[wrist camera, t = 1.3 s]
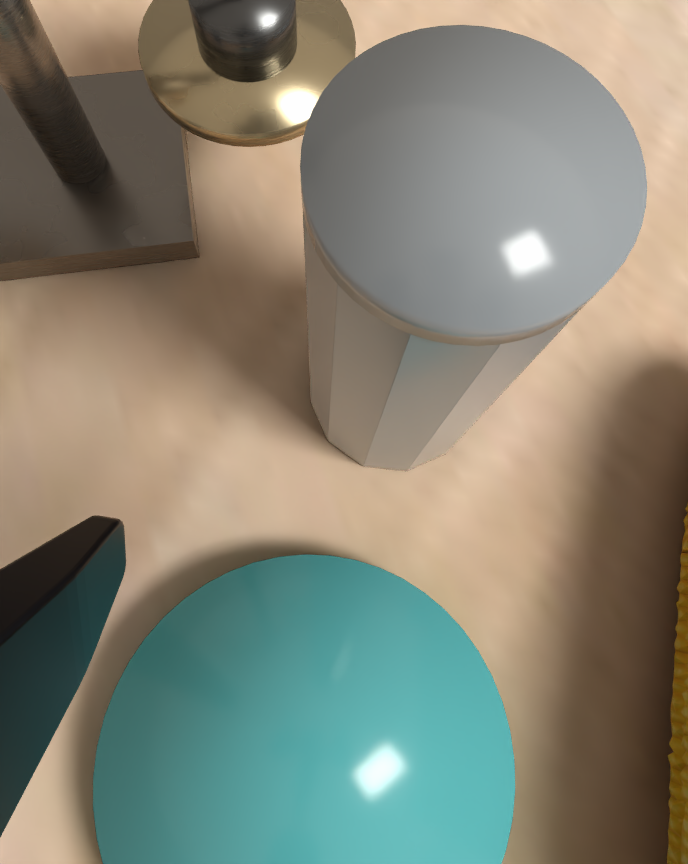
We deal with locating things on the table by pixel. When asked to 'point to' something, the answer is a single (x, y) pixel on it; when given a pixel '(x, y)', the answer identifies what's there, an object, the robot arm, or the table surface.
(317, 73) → the balance
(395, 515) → the table surface
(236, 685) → the dish
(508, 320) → the cup
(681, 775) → the food
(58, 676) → the robot arm
